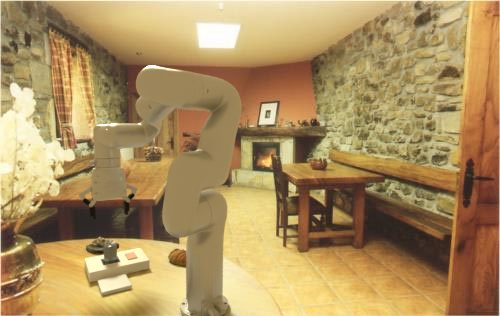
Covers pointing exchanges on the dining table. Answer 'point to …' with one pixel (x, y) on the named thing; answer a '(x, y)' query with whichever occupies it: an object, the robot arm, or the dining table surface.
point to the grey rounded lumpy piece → (99, 245)
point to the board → (116, 265)
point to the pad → (114, 284)
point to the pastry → (178, 257)
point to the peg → (110, 254)
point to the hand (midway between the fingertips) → (110, 216)
